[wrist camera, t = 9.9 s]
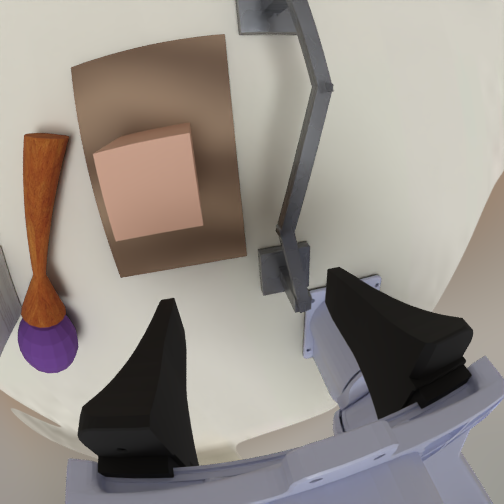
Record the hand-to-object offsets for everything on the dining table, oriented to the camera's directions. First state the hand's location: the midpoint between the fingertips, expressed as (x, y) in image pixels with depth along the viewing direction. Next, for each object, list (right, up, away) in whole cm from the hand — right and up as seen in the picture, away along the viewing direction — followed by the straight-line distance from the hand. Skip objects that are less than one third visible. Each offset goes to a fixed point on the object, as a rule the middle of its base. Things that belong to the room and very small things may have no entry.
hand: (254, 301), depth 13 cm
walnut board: (-6, +8, +5) cm, 11 cm away
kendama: (-17, +2, +7) cm, 18 cm away
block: (-6, +8, +4) cm, 11 cm away
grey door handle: (+2, +10, +6) cm, 11 cm away
